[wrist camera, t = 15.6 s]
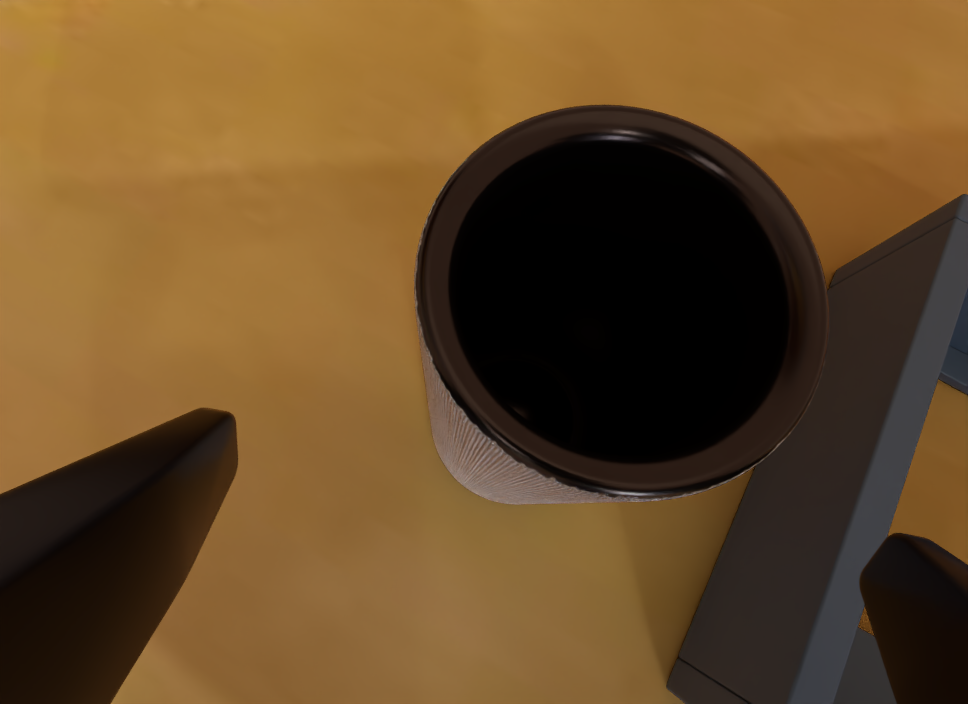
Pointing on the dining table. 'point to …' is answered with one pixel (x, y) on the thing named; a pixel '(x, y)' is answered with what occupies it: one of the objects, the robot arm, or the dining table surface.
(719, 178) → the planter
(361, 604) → the dining table surface
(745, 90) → the dining table surface
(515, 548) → the dining table surface
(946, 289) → the basket
